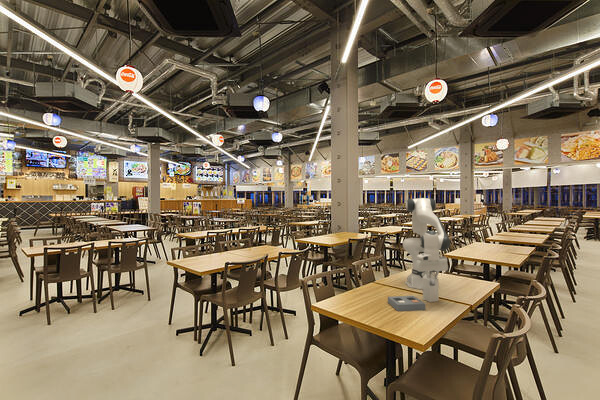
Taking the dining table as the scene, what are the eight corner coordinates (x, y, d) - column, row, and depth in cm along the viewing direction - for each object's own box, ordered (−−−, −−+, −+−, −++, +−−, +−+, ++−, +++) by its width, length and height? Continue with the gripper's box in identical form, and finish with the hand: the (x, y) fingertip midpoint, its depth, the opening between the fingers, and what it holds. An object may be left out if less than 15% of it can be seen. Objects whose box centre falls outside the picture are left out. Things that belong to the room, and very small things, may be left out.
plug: (428, 284, 187) (427, 269, 187) (433, 284, 187) (433, 268, 187) (431, 286, 183) (430, 270, 183) (436, 285, 183) (436, 270, 183)
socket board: (387, 302, 194) (387, 296, 195) (413, 301, 196) (413, 295, 196) (397, 311, 179) (397, 304, 179) (425, 310, 180) (425, 303, 180)
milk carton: (430, 302, 194) (429, 274, 194) (422, 299, 201) (422, 271, 201) (438, 301, 196) (438, 273, 196) (431, 298, 203) (430, 271, 203)
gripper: (444, 255, 189) (444, 276, 189) (414, 255, 187) (414, 277, 187) (450, 256, 183) (450, 278, 183) (419, 257, 181) (419, 279, 181)
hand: (432, 277), depth 185 cm, fingers closed on plug, 3 cm apart
